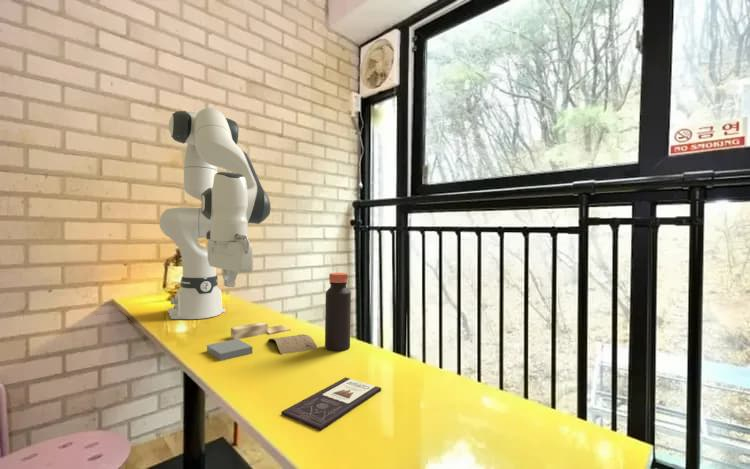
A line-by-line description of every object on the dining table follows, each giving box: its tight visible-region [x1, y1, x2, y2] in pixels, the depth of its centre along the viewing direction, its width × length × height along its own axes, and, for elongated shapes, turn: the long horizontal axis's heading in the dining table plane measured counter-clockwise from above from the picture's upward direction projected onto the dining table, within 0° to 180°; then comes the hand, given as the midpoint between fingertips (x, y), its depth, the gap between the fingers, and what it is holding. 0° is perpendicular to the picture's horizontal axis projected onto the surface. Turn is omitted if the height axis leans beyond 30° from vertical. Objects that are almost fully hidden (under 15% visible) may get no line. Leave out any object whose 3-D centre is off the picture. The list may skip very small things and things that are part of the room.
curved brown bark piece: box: [267, 333, 318, 356], centre depth 101 cm, size 14×10×3 cm
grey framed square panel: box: [206, 339, 253, 362], centre depth 94 cm, size 2×8×9 cm
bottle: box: [324, 272, 352, 352], centre depth 99 cm, size 7×7×20 cm
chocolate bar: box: [280, 377, 382, 432], centre depth 68 cm, size 9×1×18 cm
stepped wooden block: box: [230, 321, 291, 340], centre depth 112 cm, size 17×6×3 cm, turn 133°
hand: (229, 286), depth 96 cm, fingers closed
